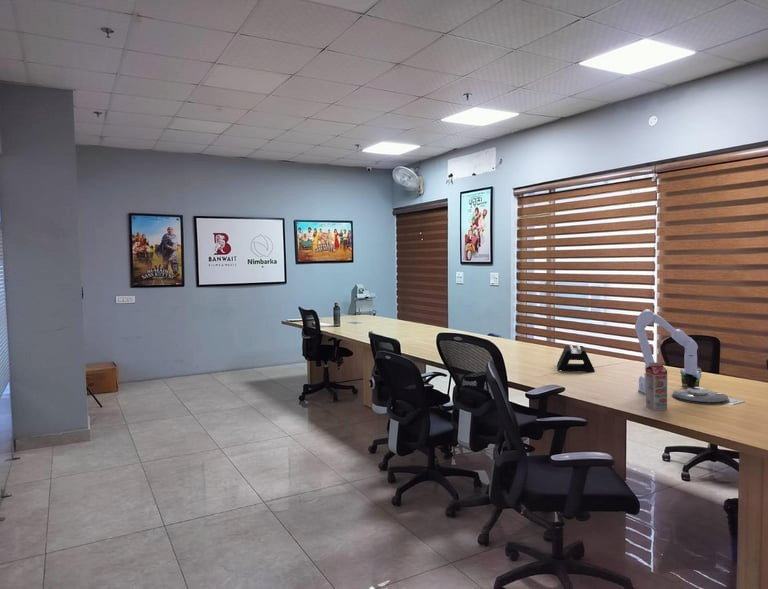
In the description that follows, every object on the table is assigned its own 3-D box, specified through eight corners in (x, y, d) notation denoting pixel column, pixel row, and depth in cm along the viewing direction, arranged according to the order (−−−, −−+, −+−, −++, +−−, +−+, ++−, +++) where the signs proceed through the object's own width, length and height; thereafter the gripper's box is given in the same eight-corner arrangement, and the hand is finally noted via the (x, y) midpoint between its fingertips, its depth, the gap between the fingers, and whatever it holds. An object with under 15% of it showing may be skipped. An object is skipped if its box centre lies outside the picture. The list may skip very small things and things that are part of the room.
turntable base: (691, 405, 254) (691, 404, 254) (661, 393, 279) (661, 392, 279) (741, 403, 255) (741, 402, 255) (707, 391, 280) (707, 390, 280)
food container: (689, 389, 287) (689, 370, 286) (679, 386, 293) (679, 368, 292) (707, 387, 290) (707, 369, 290) (697, 384, 296) (697, 367, 296)
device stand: (558, 371, 345) (557, 348, 344) (557, 365, 366) (557, 343, 366) (594, 372, 338) (594, 349, 337) (591, 366, 360) (591, 344, 359)
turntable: (691, 403, 255) (691, 400, 255) (663, 392, 279) (663, 389, 279) (739, 401, 256) (739, 399, 255) (707, 390, 279) (707, 388, 279)
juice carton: (645, 406, 254) (645, 361, 253) (658, 406, 255) (658, 361, 253) (653, 410, 247) (653, 363, 246) (667, 409, 248) (667, 363, 247)
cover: (695, 396, 264) (695, 390, 264) (683, 391, 273) (683, 386, 273) (712, 395, 265) (712, 390, 265) (700, 391, 274) (700, 386, 274)
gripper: (707, 365, 267) (707, 391, 267) (689, 360, 281) (689, 385, 282) (693, 365, 266) (693, 392, 267) (676, 360, 281) (676, 386, 282)
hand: (690, 388), depth 275 cm, fingers closed
